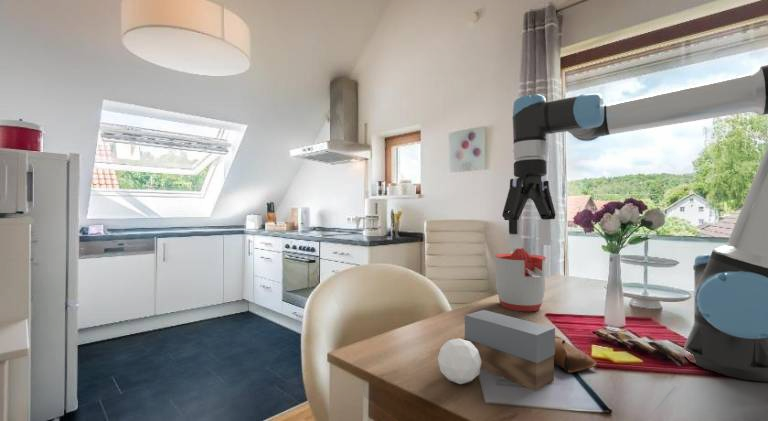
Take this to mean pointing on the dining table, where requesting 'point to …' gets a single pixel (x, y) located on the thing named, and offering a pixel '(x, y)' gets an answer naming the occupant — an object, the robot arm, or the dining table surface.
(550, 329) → the tower top block
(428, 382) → the dining table surface
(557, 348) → the sunglasses case
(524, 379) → the tower base block
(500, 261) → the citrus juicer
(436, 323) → the dining table surface
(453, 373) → the geometric ball
